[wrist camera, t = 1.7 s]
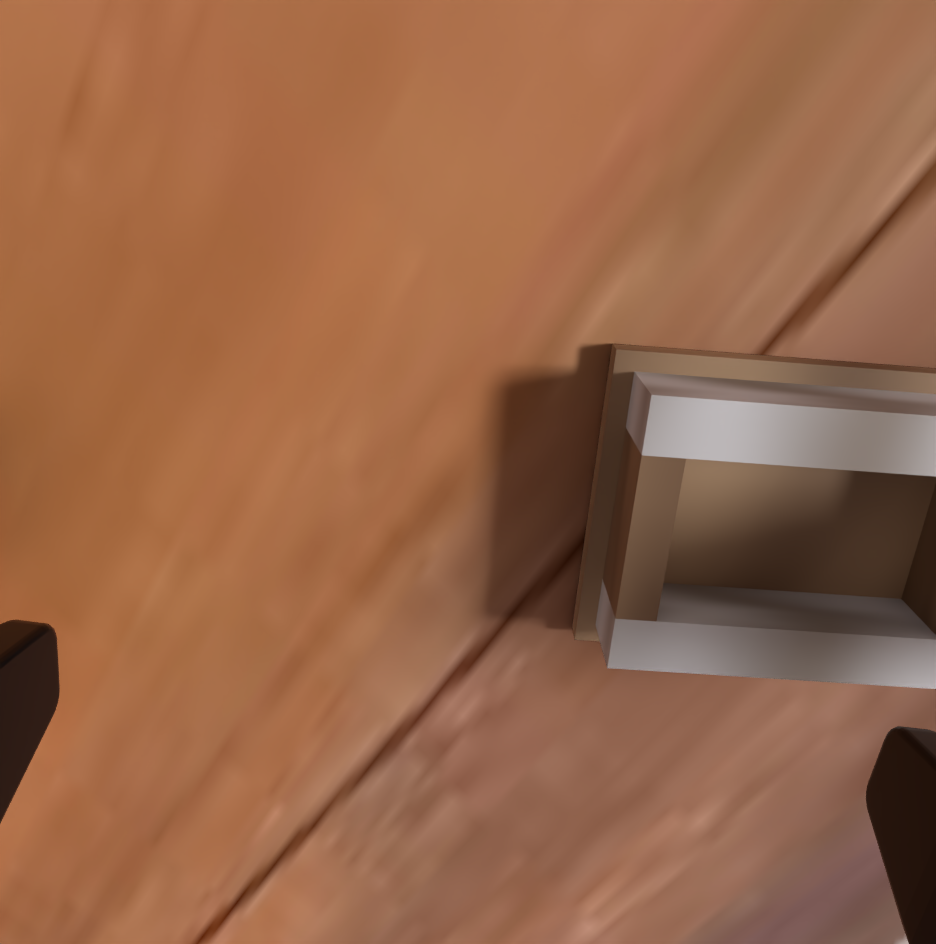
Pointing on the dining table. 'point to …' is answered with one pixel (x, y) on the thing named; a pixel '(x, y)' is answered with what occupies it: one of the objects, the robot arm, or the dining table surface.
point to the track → (763, 518)
